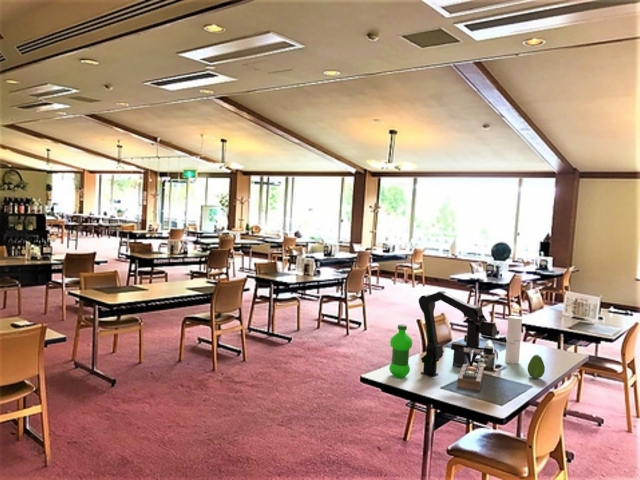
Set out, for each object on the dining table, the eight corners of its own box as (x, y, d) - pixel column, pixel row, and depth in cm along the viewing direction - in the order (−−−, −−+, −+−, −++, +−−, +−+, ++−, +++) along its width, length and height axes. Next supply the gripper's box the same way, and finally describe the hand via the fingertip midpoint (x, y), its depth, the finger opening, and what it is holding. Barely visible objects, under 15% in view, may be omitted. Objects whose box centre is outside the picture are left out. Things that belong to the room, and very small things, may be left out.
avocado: (533, 381, 256) (535, 357, 256) (523, 376, 264) (525, 352, 263) (547, 380, 258) (549, 356, 258) (537, 375, 266) (538, 352, 265)
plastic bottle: (395, 371, 259) (398, 322, 258) (413, 376, 253) (417, 326, 251) (384, 375, 252) (387, 324, 250) (403, 381, 245) (406, 329, 244)
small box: (463, 369, 270) (465, 349, 270) (452, 366, 274) (453, 346, 274) (471, 365, 279) (472, 345, 278) (459, 362, 283) (461, 343, 282)
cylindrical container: (520, 363, 286) (524, 319, 284) (507, 363, 286) (511, 318, 284) (516, 360, 293) (519, 316, 291) (503, 359, 293) (506, 315, 292)
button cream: (476, 368, 257) (476, 365, 257) (468, 367, 258) (468, 364, 258) (477, 366, 260) (477, 363, 260) (468, 365, 262) (469, 361, 262)
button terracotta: (475, 373, 249) (475, 369, 249) (466, 371, 251) (466, 368, 251) (475, 371, 253) (476, 367, 253) (467, 369, 254) (467, 366, 254)
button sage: (473, 377, 242) (474, 374, 242) (465, 376, 243) (465, 372, 243) (474, 375, 245) (474, 371, 245) (465, 374, 247) (466, 370, 247)
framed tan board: (479, 390, 238) (480, 378, 238) (457, 386, 242) (457, 374, 241) (483, 374, 262) (484, 363, 262) (462, 371, 266) (463, 360, 266)
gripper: (494, 332, 247) (492, 364, 248) (454, 327, 254) (452, 359, 255) (493, 337, 237) (491, 371, 238) (451, 332, 244) (449, 365, 244)
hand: (470, 366), depth 244 cm, fingers closed
